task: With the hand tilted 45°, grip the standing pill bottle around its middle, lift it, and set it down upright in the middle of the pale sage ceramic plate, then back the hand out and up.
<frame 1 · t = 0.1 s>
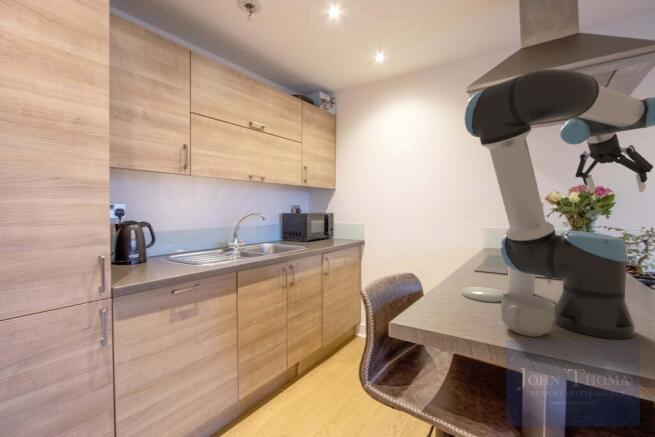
hand: (616, 190, 109), 36 cm above the kitchen island, tool tilted 35°, fingers open, 13 cm apart
teacup: (522, 333, 73), on the kitchen island
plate: (484, 295, 104), on the kitchen island
pill bottle: (520, 293, 107), on the kitchen island
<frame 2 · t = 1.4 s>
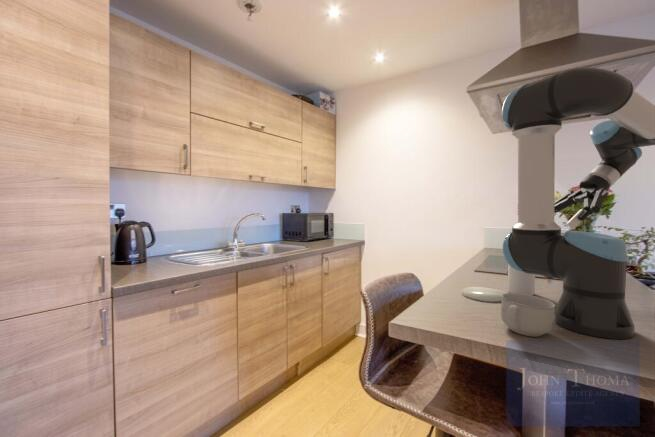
hand: (554, 225, 106), 24 cm above the kitchen island, tool tilted 45°, fingers open, 13 cm apart
nothing on the kitchen island moved.
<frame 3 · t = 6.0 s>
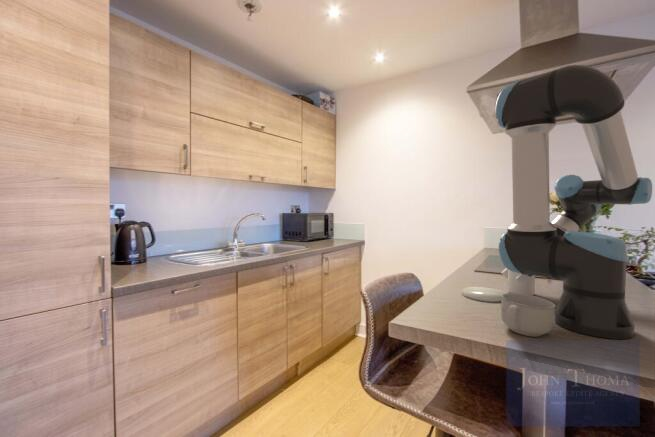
hand: (511, 278, 107), 5 cm above the kitchen island, tool tilted 45°, fingers closed on pill bottle, 8 cm apart
pill bottle: (520, 293, 107), on the kitchen island, touching gripper
everything else where it was.
when the fingers open (8 cm above the kitchen island, at t = 11.2 s): pill bottle drops 1 cm, resting on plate.
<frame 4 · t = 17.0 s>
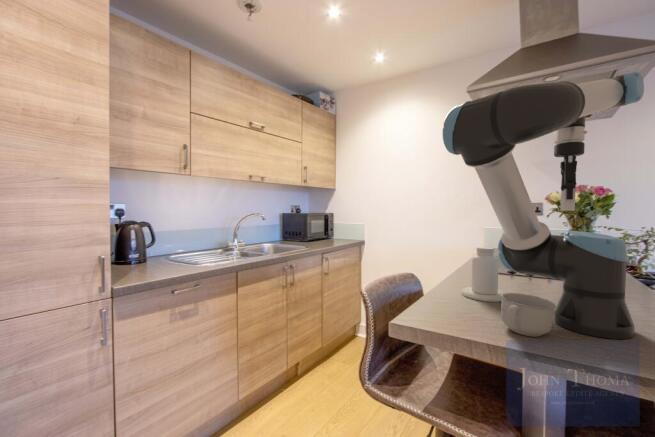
hand: (567, 210, 97), 29 cm above the kitchen island, tool pointing down, fingers open, 13 cm apart
pill bottle: (484, 292, 104), point 1 cm above the kitchen island, touching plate
everything else where it was.
at the end: pill bottle 0.0 cm from the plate (horizontally); pill bottle tilted 0°; pill bottle touching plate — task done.
